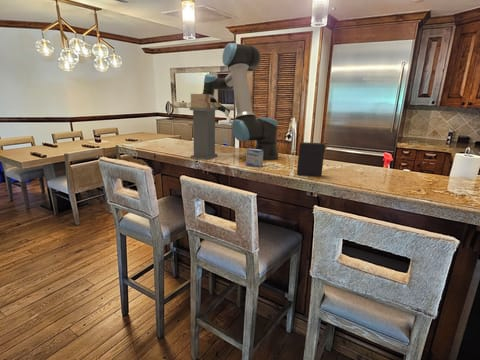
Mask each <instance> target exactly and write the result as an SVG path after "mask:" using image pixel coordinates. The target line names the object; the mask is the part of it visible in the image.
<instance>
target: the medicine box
mask: <svg viewBox="0 0 480 360" xmlns="http://www.w3.org/2000/svg"><path fill="white" fill-rule="evenodd" d="M263 151H264V150H260V149H255V148H246V154H245V155H246V156H245V157H246V158H245V166H246V167H247V166H248V167H255V168H260V167H263V164H264V159H263Z"/></svg>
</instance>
